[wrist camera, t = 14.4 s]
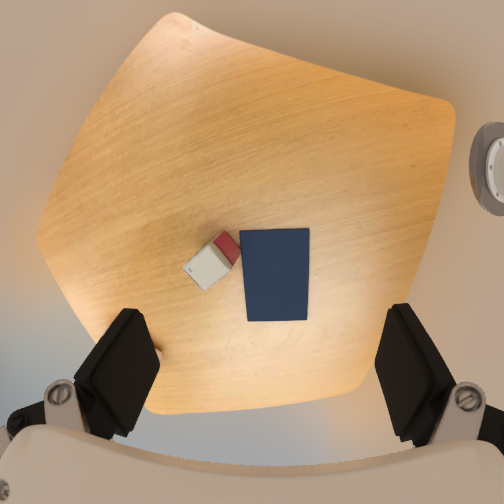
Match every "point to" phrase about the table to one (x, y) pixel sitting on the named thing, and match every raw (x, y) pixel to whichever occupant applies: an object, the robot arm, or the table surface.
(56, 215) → the table surface
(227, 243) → the small box
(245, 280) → the cloth
